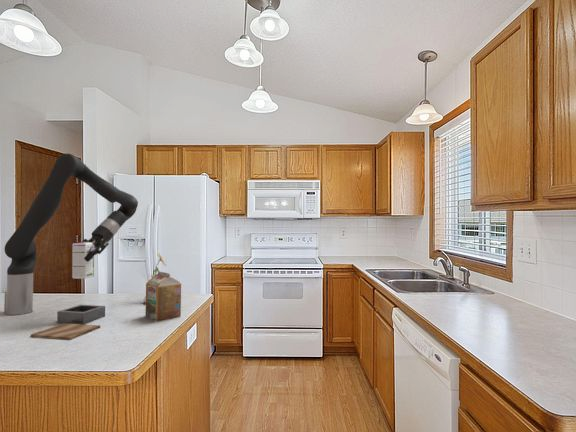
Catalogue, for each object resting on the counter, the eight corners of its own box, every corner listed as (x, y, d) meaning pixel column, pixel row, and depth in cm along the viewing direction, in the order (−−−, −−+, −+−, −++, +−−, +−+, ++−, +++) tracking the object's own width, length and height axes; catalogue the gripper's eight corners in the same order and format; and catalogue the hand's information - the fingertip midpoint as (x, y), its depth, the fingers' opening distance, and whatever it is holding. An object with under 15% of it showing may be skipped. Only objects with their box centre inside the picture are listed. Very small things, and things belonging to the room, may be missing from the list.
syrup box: (85, 278, 138) (86, 243, 138) (71, 278, 138) (72, 242, 138) (94, 276, 144) (94, 242, 144) (80, 276, 144) (81, 242, 144)
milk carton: (180, 316, 146) (181, 272, 146) (157, 321, 138) (157, 274, 139) (168, 312, 153) (169, 269, 154) (145, 316, 146) (146, 272, 146)
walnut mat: (30, 336, 119) (30, 334, 119) (63, 325, 133) (63, 323, 133) (70, 339, 116) (70, 337, 116) (100, 327, 130) (100, 325, 130)
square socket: (57, 322, 135) (57, 311, 136) (80, 315, 147) (80, 304, 147) (83, 324, 133) (83, 313, 133) (105, 316, 145) (105, 305, 145)
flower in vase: (162, 305, 166) (163, 253, 167) (139, 305, 166) (139, 253, 167) (171, 299, 179) (172, 251, 180) (150, 299, 179) (151, 251, 180)
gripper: (89, 224, 151) (62, 252, 140) (112, 225, 145) (85, 254, 134) (100, 236, 156) (74, 264, 145) (122, 237, 150) (97, 266, 139)
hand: (79, 259), depth 140 cm, fingers closed on syrup box, 7 cm apart
